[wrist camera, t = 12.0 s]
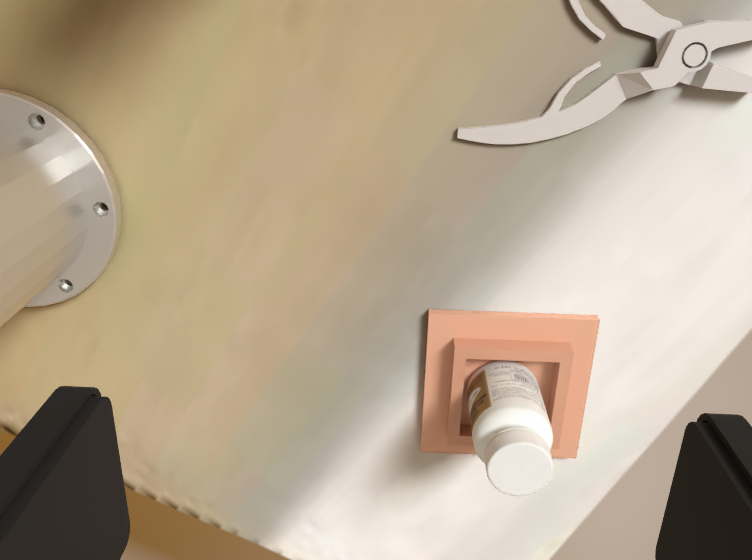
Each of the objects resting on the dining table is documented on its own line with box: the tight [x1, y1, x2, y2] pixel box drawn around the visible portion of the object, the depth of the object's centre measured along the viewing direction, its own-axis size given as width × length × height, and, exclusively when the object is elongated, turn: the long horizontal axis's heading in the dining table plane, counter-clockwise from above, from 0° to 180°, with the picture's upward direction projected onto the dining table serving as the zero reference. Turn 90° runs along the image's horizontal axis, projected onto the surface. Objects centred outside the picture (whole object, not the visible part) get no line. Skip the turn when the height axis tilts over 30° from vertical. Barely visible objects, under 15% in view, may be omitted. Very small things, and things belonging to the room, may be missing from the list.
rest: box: [421, 309, 600, 458], centre depth 43 cm, size 10×10×2 cm
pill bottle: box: [467, 360, 553, 496], centre depth 39 cm, size 4×4×8 cm
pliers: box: [457, 0, 752, 144], centre depth 35 cm, size 10×2×15 cm
